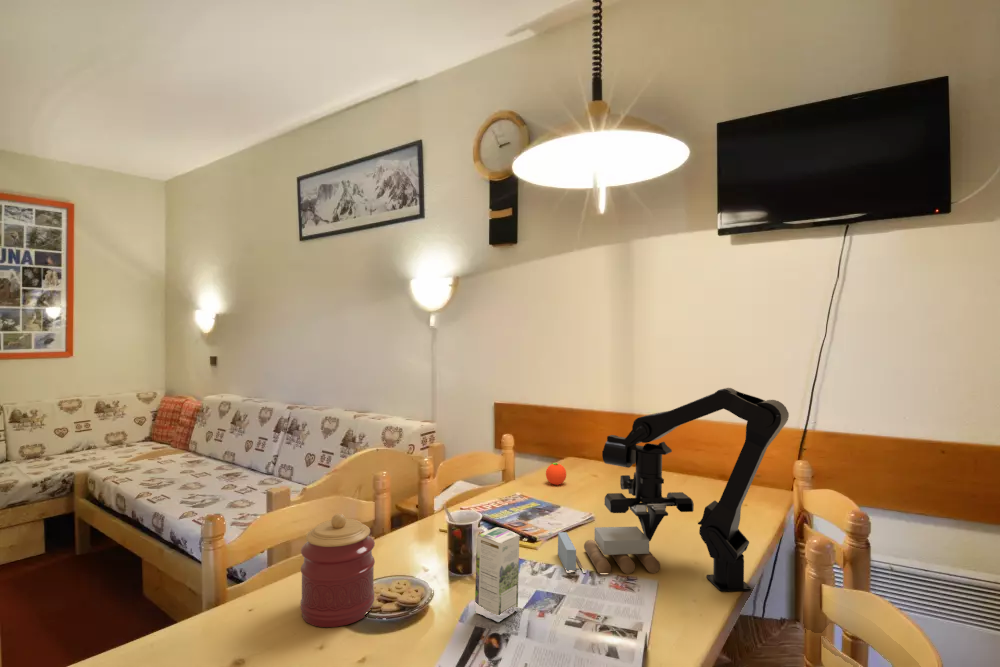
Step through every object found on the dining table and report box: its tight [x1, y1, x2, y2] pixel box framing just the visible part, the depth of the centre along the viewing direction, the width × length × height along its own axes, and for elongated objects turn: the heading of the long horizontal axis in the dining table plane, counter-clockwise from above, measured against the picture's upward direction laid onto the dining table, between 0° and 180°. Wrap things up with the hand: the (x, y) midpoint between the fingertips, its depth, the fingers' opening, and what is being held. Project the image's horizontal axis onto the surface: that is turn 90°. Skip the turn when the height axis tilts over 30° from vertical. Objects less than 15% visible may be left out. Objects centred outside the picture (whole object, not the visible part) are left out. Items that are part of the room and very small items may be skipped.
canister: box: [300, 513, 376, 628], centre depth 99 cm, size 13×13×18 cm
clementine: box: [545, 462, 567, 486], centre depth 182 cm, size 8×7×7 cm
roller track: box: [576, 550, 661, 575], centre depth 121 cm, size 12×17×3 cm
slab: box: [594, 526, 650, 556], centre depth 121 cm, size 8×10×3 cm
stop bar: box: [557, 531, 577, 571], centre depth 120 cm, size 10×2×5 cm, turn 5°
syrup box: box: [474, 526, 520, 615], centre depth 99 cm, size 6×6×14 cm
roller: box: [583, 539, 612, 574], centre depth 120 cm, size 12×3×3 cm
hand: (648, 540), depth 121 cm, fingers closed
